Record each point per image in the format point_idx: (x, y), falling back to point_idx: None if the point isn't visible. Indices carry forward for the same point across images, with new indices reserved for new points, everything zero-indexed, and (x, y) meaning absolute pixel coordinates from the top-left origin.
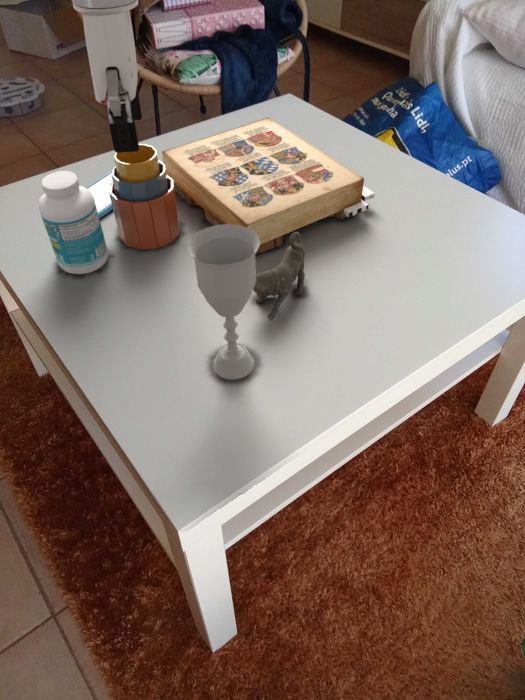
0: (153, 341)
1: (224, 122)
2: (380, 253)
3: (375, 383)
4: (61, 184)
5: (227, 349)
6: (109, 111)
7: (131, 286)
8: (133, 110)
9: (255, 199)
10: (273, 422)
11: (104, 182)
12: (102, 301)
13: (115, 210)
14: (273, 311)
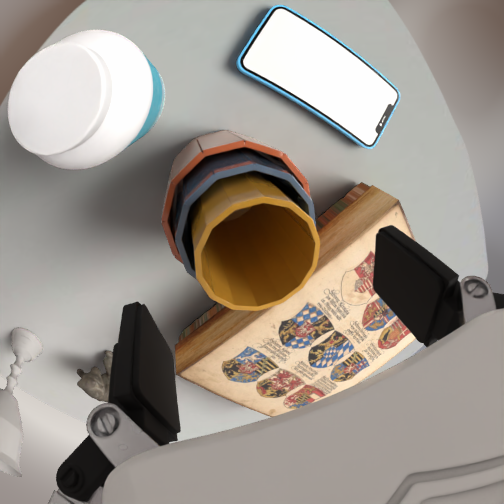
0: (10, 269)
1: (474, 225)
2: (215, 412)
3: (67, 411)
4: (30, 120)
5: (16, 354)
6: (62, 481)
7: (77, 205)
8: (391, 291)
9: (243, 369)
10: (5, 366)
11: (361, 74)
12: (39, 177)
13: (188, 155)
14: (81, 377)
